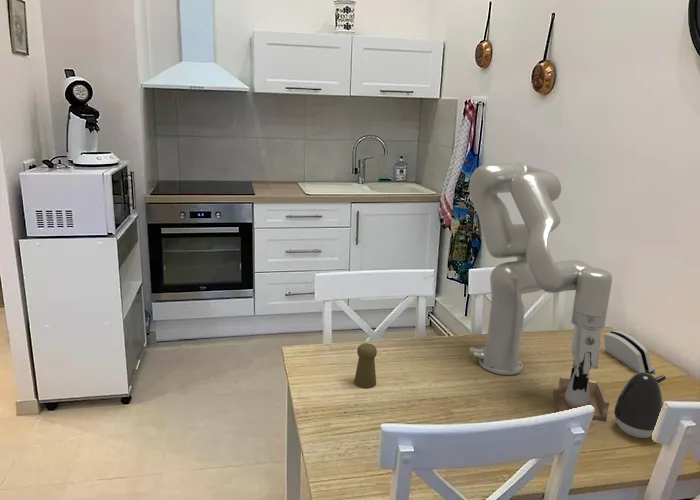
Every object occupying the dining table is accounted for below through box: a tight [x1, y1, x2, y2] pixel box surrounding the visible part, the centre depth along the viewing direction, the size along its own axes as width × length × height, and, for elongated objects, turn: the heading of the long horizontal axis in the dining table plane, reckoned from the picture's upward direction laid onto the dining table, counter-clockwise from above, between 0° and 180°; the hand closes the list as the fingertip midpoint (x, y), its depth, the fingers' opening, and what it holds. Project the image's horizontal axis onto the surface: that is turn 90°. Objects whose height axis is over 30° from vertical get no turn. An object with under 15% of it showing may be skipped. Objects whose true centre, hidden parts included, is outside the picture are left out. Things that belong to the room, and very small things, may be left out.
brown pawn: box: [353, 342, 378, 390], centre depth 145 cm, size 6×6×11 cm
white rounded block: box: [603, 330, 657, 374], centre depth 165 cm, size 17×5×10 cm, turn 12°
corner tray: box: [553, 375, 610, 422], centre depth 139 cm, size 11×11×5 cm
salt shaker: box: [565, 361, 593, 408], centre depth 136 cm, size 6×6×13 cm
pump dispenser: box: [613, 372, 667, 439], centre depth 127 cm, size 10×10×15 cm
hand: (577, 386), depth 136 cm, fingers open, 3 cm apart
